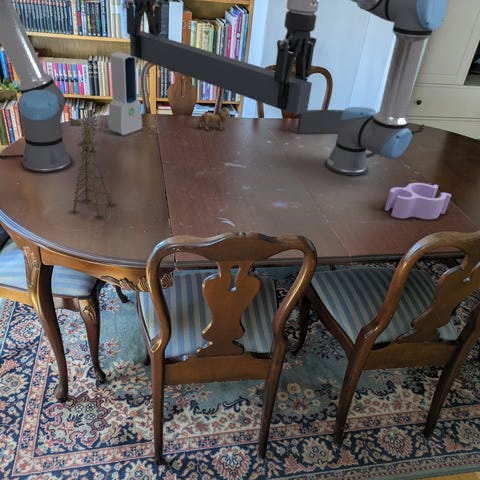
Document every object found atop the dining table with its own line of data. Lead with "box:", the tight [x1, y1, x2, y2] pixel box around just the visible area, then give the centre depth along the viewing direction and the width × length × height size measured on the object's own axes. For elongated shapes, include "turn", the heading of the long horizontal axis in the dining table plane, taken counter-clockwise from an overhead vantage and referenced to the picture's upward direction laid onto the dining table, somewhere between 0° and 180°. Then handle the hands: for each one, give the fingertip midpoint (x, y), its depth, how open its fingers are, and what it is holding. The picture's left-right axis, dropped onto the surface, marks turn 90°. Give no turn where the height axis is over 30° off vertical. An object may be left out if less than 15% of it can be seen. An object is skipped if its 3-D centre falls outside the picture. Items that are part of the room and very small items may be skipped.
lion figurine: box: [196, 107, 231, 131], centre depth 201 cm, size 15×5×9 cm, turn 110°
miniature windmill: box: [69, 107, 112, 218], centre depth 129 cm, size 9×8×30 cm
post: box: [129, 30, 313, 116], centre depth 142 cm, size 72×5×8 cm, turn 47°
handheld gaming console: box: [296, 109, 345, 134], centre depth 210 cm, size 23×3×10 cm, turn 108°
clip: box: [384, 182, 452, 220], centre depth 153 cm, size 20×12×7 cm, turn 109°
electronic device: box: [107, 51, 143, 136], centre depth 184 cm, size 12×8×30 cm, turn 148°
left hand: (144, 56), depth 160 cm, fingers closed on post, 5 cm apart
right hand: (288, 106), depth 127 cm, fingers closed on post, 5 cm apart
